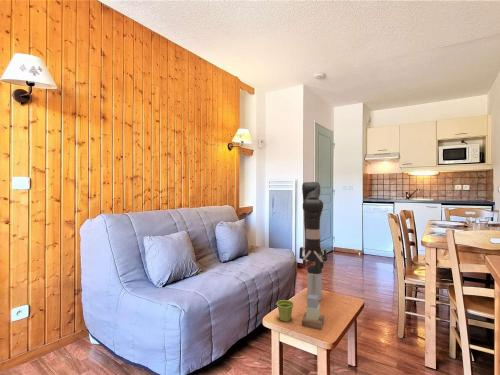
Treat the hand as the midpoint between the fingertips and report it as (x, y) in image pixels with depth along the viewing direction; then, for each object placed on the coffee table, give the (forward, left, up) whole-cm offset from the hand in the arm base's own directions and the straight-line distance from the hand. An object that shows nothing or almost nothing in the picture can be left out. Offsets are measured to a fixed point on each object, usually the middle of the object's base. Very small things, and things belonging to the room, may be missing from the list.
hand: (313, 267), depth 149 cm
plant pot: (+1, -15, -30) cm, 33 cm away
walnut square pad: (0, 0, -30) cm, 30 cm away
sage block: (0, 0, -26) cm, 26 cm away
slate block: (0, 0, -20) cm, 20 cm away
